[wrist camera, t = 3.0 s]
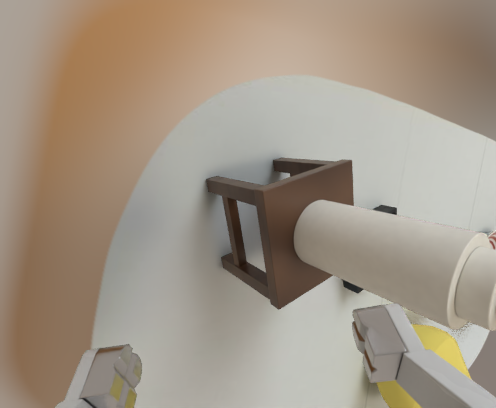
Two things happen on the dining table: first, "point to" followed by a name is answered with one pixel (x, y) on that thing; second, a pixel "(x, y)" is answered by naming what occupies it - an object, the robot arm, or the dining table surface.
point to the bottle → (403, 261)
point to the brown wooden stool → (281, 223)
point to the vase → (432, 339)
